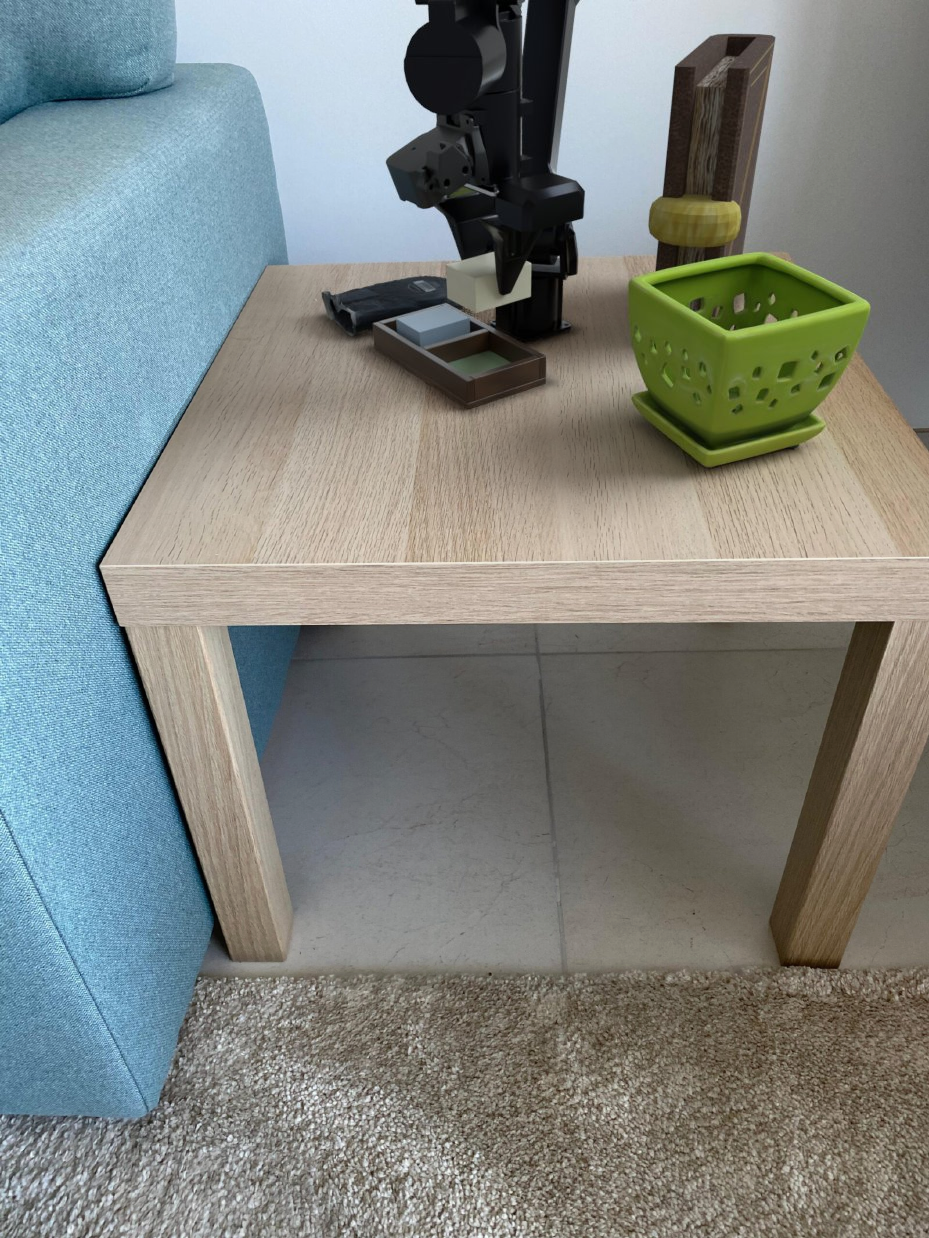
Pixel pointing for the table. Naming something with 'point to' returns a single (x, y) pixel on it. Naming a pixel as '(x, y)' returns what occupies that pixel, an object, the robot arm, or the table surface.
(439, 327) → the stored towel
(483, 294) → the cream rectangular block
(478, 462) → the table surface
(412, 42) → the robot arm
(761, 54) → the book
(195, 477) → the table surface
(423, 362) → the shallow rectangular tray
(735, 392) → the flower pot
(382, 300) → the electronic device
